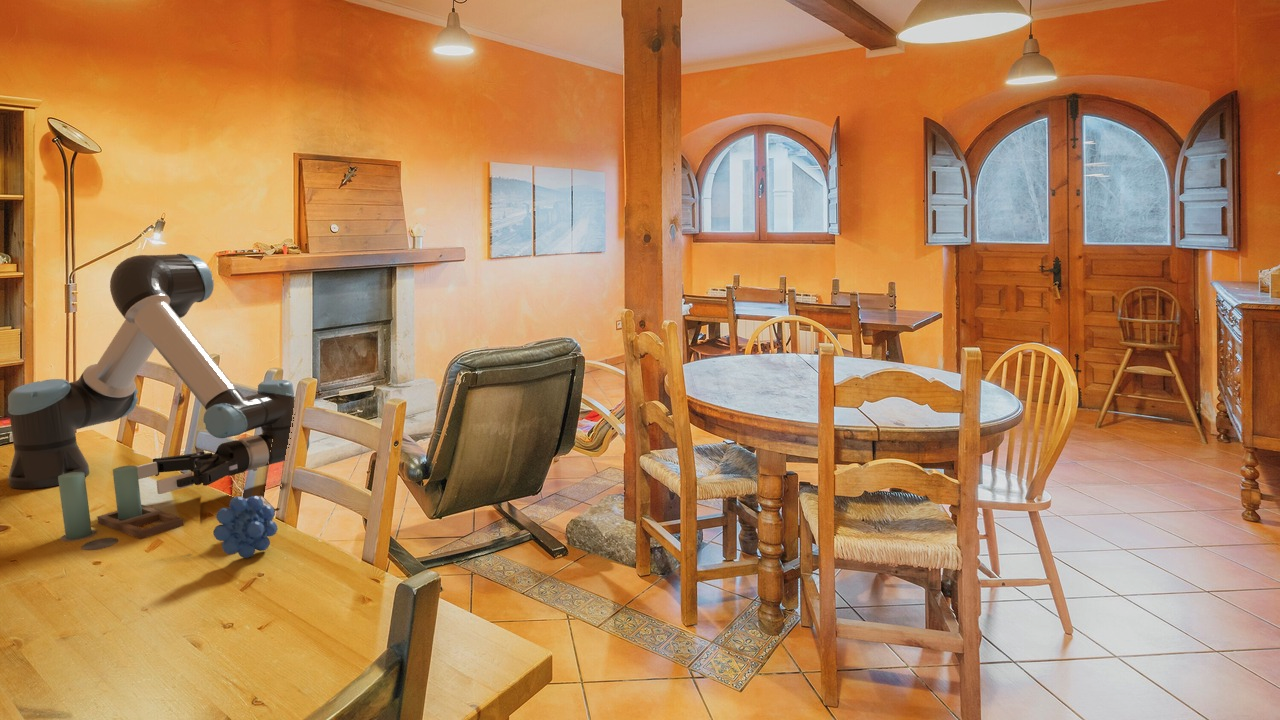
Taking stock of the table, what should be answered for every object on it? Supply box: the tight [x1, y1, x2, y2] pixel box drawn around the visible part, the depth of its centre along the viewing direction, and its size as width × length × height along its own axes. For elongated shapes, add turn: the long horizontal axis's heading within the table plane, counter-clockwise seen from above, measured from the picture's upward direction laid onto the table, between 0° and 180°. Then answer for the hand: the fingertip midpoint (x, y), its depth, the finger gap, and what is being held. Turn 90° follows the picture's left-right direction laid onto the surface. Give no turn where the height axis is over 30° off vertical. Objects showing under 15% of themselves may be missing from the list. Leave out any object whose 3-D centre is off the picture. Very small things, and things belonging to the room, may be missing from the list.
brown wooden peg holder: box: [96, 504, 185, 540], centre depth 147 cm, size 16×8×2 cm, turn 60°
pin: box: [58, 472, 93, 539], centre depth 140 cm, size 4×4×12 cm
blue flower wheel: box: [213, 495, 278, 559], centre depth 133 cm, size 12×7×12 cm, turn 150°
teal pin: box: [112, 465, 142, 521], centre depth 148 cm, size 4×4×12 cm
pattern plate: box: [60, 529, 119, 551], centre depth 140 cm, size 16×8×1 cm, turn 60°
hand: (139, 481), depth 149 cm, fingers open, 13 cm apart
